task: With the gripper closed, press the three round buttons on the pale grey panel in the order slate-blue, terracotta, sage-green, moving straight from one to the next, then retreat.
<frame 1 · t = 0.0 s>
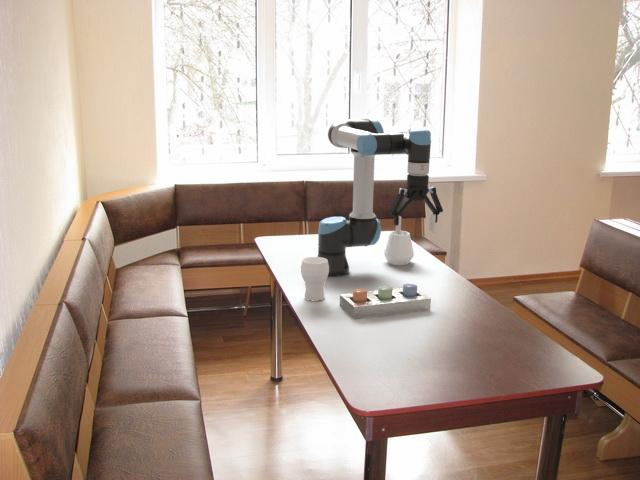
hand: (415, 232, 239), 28 cm above the table, fingers open, 13 cm apart
cup: (314, 298, 253), on the table
button slate: (409, 292, 246), point 5 cm above the table, slide at 0.0 cm
button terracotta: (359, 297, 239), point 5 cm above the table, slide at 0.0 cm
cup 2: (398, 263, 302), on the table
panel: (384, 308, 244), on the table
button sage: (385, 295, 242), point 5 cm above the table, slide at 0.0 cm
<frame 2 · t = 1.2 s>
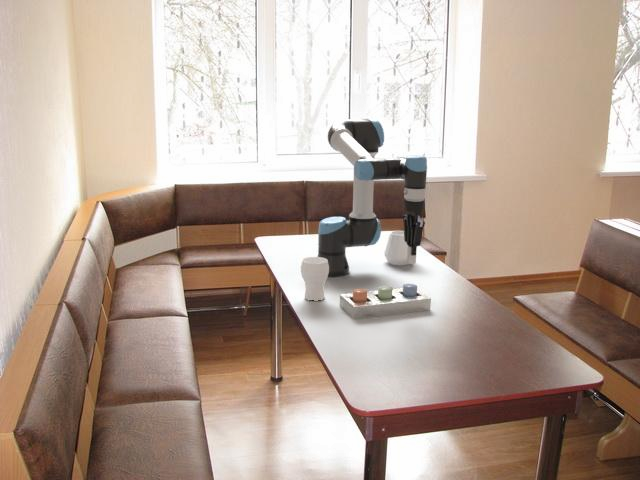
hand: (411, 262, 243), 16 cm above the table, fingers closed
nothing on the table moved.
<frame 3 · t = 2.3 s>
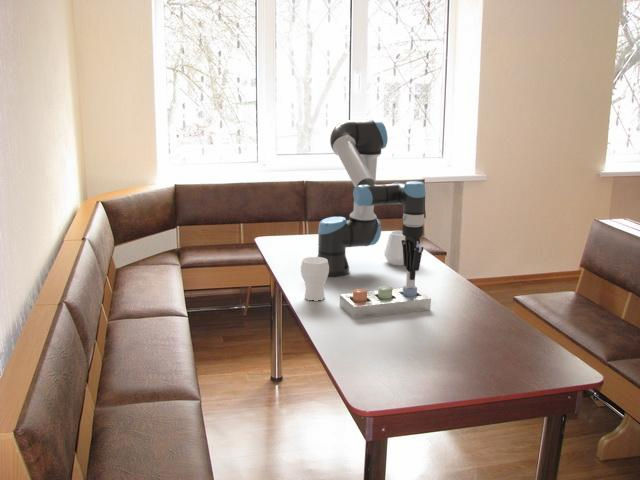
hand: (410, 287, 245), 7 cm above the table, fingers closed
button slate: (409, 294, 246), point 4 cm above the table, slide at 0.6 cm, touching gripper
everything else where it was.
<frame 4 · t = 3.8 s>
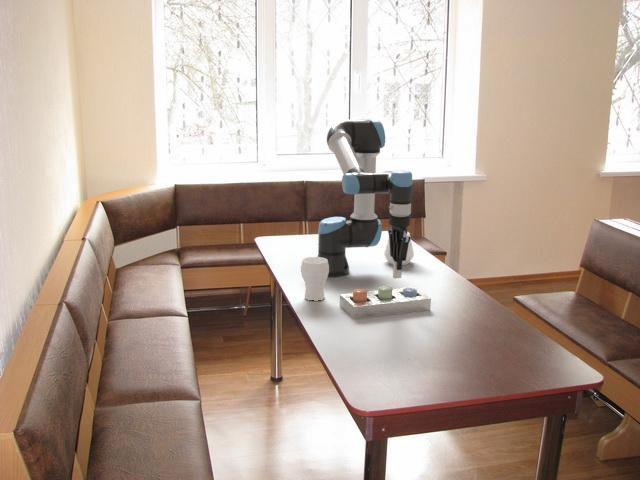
hand: (397, 277, 243), 11 cm above the table, fingers closed
button slate: (409, 296, 246), point 3 cm above the table, slide at 1.7 cm
everything else where it was.
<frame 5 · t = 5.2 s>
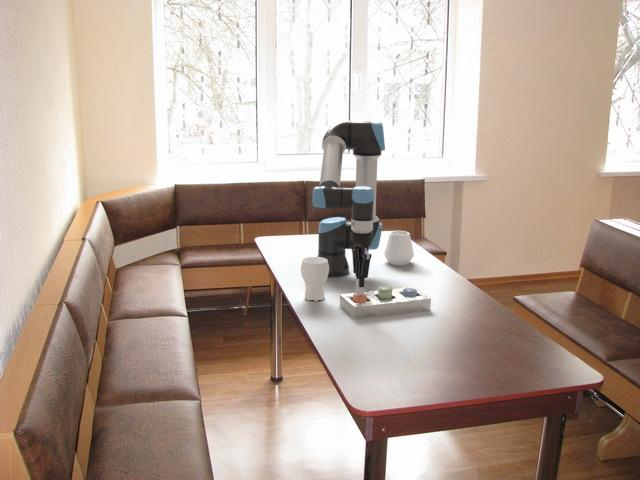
hand: (359, 294, 239), 6 cm above the table, fingers closed
button terracotta: (359, 301, 240), point 3 cm above the table, slide at 1.6 cm, touching gripper
everything else where it was.
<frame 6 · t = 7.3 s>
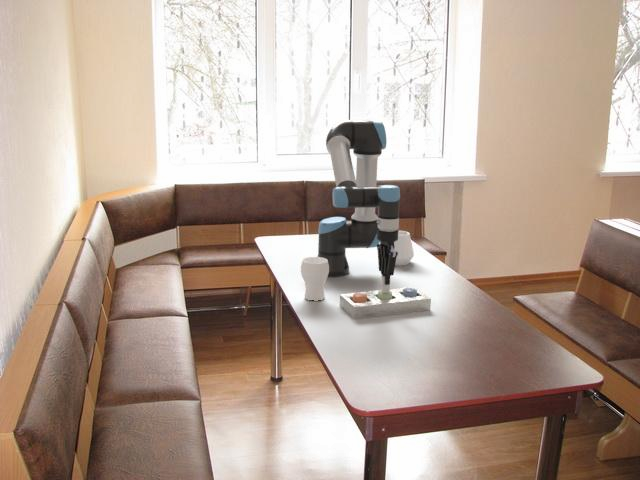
hand: (385, 292, 242), 6 cm above the table, fingers closed
button terracotta: (359, 302, 240), point 3 cm above the table, slide at 1.7 cm
button sage: (385, 299, 243), point 3 cm above the table, slide at 1.6 cm, touching gripper
everything else where it was.
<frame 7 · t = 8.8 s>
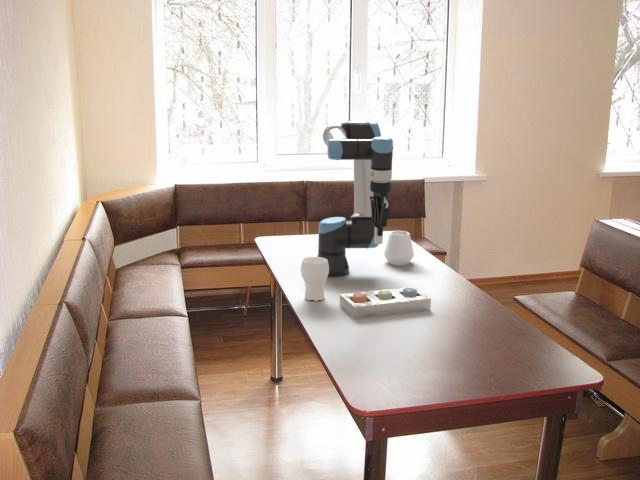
hand: (378, 243, 246), 22 cm above the table, fingers closed
button sage: (385, 299, 243), point 3 cm above the table, slide at 1.7 cm
everything else where it was.
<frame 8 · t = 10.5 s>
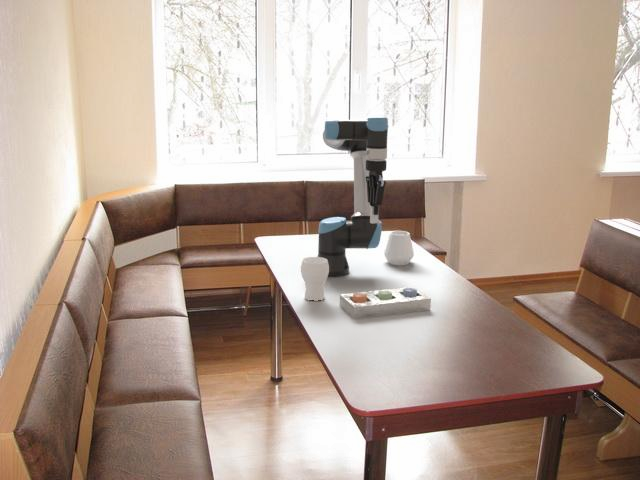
hand: (374, 222, 247), 29 cm above the table, fingers closed
nothing on the table moved.
at the end: button slate slide at 1.7 cm; button terracotta slide at 1.7 cm; button sage slide at 1.7 cm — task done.
